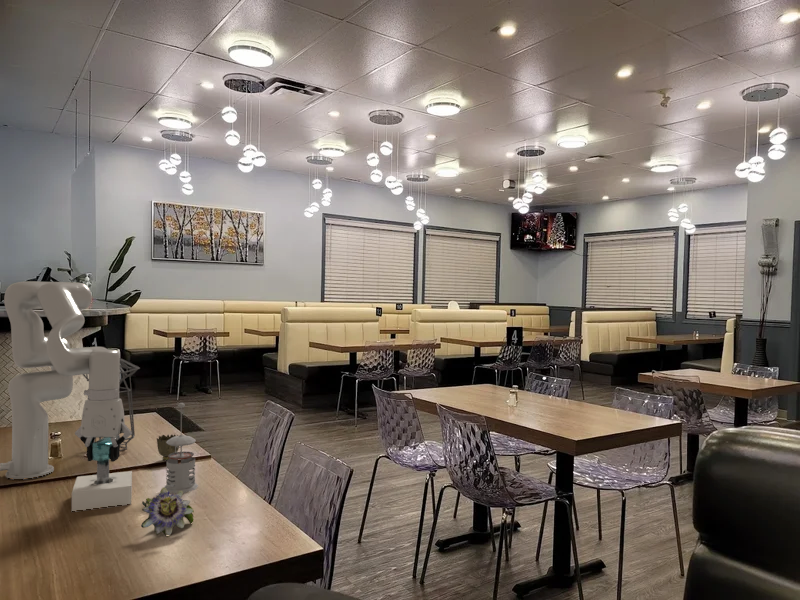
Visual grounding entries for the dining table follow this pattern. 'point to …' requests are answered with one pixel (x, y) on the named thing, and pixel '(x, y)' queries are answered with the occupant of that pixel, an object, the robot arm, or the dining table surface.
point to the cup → (165, 446)
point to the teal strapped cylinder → (102, 459)
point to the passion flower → (167, 511)
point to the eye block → (102, 491)
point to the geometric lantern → (126, 391)
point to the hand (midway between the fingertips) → (103, 459)
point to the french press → (180, 472)
